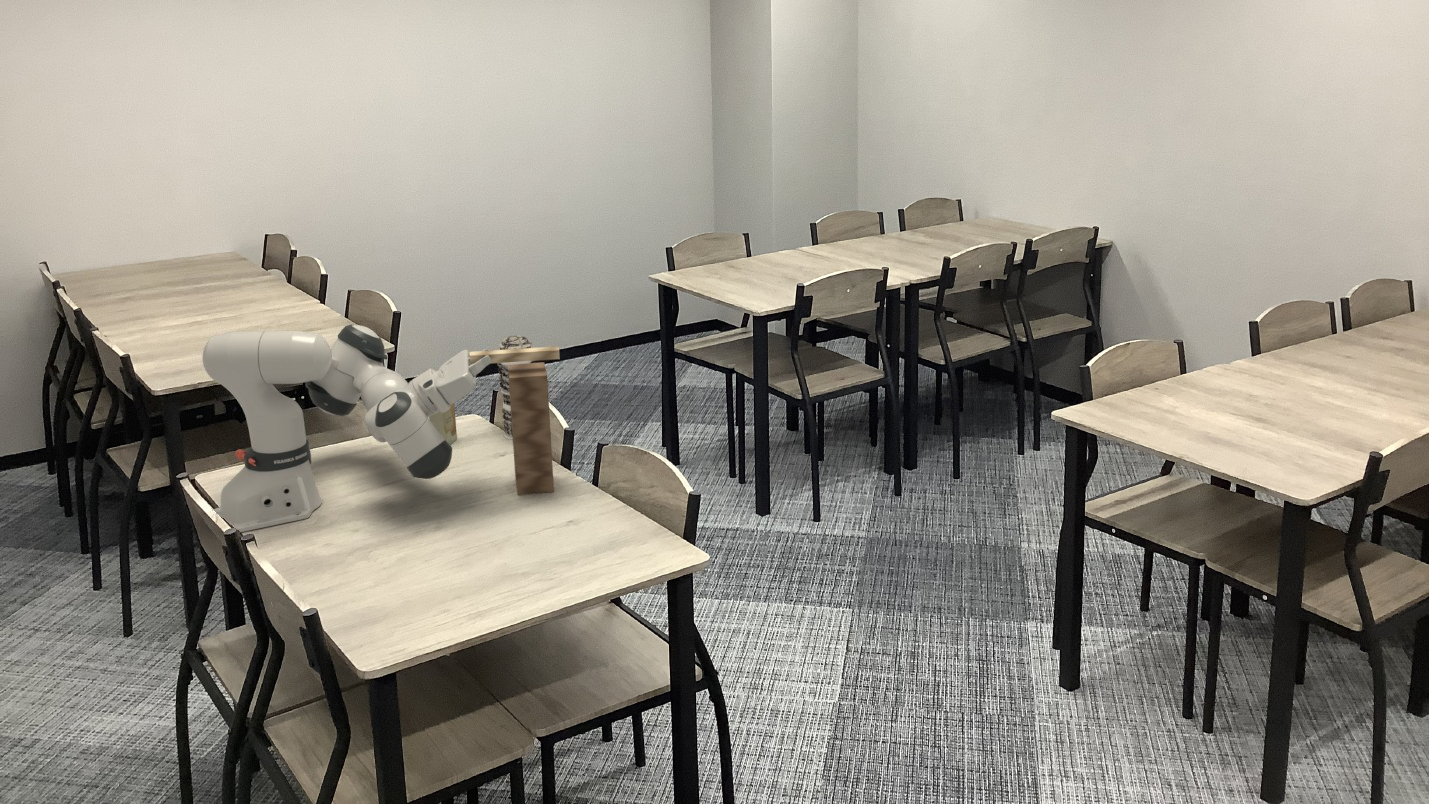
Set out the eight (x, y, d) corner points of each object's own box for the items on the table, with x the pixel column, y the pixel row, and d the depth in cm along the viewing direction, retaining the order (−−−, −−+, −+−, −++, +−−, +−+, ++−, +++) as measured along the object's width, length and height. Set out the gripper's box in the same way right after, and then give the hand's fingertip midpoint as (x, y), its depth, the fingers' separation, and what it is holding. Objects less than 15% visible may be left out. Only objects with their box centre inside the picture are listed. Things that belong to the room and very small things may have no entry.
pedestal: (517, 495, 264) (509, 377, 255) (515, 478, 273) (507, 364, 264) (553, 491, 265) (547, 375, 257) (550, 475, 274) (544, 362, 266)
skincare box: (447, 447, 292) (443, 399, 289) (431, 446, 293) (426, 399, 289) (458, 438, 298) (454, 391, 295) (441, 437, 299) (437, 390, 295)
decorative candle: (518, 425, 307) (511, 331, 299) (546, 431, 302) (541, 336, 294) (494, 436, 299) (487, 340, 291) (523, 442, 295) (517, 345, 287)
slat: (470, 364, 256) (469, 355, 255) (470, 360, 259) (469, 351, 258) (559, 358, 260) (559, 350, 259) (558, 355, 262) (558, 346, 262)
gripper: (444, 386, 269) (496, 353, 269) (443, 415, 249) (499, 380, 250) (428, 364, 266) (480, 330, 266) (426, 391, 247) (482, 355, 247)
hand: (490, 354), depth 258 cm, fingers closed on slat, 3 cm apart
